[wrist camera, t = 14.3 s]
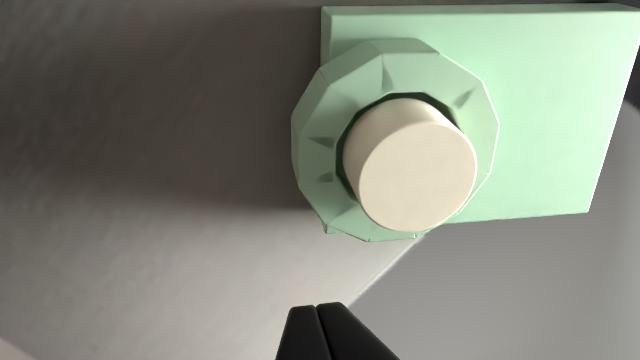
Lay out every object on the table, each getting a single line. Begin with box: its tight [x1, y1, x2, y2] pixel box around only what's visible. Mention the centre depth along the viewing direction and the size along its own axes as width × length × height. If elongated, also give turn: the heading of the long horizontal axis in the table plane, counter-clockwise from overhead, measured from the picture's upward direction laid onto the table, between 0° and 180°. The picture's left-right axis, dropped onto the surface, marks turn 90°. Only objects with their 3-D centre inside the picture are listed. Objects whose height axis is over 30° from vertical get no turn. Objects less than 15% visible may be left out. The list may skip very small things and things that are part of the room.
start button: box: [342, 98, 477, 232], centre depth 15 cm, size 4×4×2 cm
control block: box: [291, 3, 640, 242], centre depth 18 cm, size 12×8×4 cm, turn 89°
